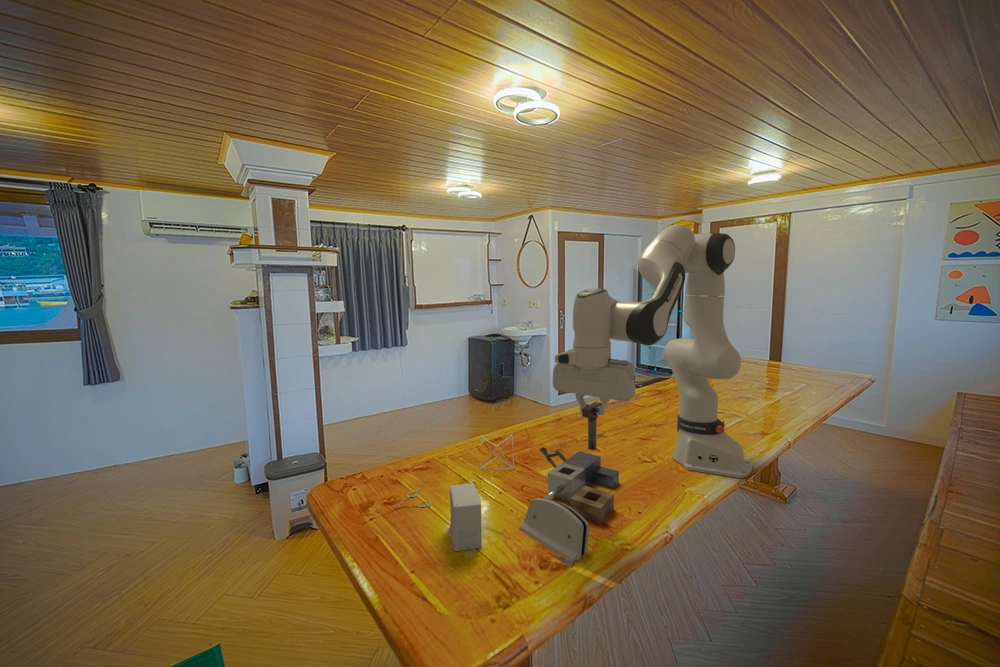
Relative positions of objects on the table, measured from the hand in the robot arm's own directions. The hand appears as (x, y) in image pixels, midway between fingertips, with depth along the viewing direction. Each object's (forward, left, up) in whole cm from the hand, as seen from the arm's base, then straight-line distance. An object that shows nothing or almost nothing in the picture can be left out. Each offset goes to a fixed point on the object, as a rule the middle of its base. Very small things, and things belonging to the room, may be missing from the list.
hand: (592, 413), depth 100 cm
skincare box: (+20, +25, -27) cm, 42 cm away
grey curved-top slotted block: (+2, +15, -27) cm, 31 cm away
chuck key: (0, 0, -9) cm, 9 cm away
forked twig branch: (+21, -23, -27) cm, 42 cm away
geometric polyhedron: (+38, -9, -27) cm, 47 cm away
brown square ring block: (0, 0, -27) cm, 27 cm away
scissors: (+44, +27, -27) cm, 58 cm away
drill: (+7, -7, -27) cm, 28 cm away
